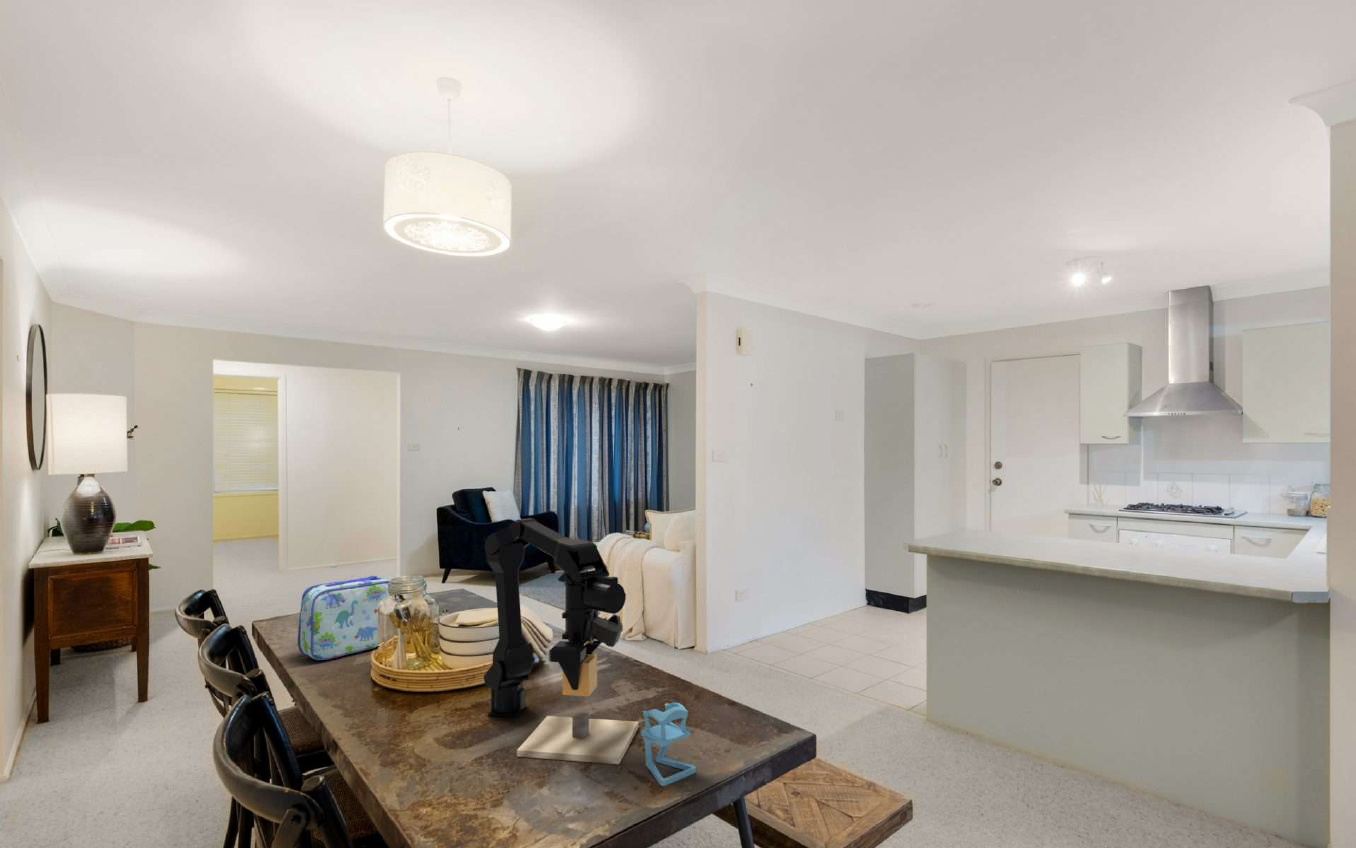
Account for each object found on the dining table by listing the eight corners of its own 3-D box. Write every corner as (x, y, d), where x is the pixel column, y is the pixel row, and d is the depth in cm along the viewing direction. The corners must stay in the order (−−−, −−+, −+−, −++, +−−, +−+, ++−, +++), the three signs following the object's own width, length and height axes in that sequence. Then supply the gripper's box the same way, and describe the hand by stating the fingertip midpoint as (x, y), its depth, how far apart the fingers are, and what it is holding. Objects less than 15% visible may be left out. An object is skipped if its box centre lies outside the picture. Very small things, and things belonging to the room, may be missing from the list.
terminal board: (517, 756, 124) (517, 728, 124) (547, 721, 140) (547, 697, 140) (619, 764, 121) (618, 735, 121) (638, 727, 136) (638, 702, 137)
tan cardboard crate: (562, 694, 128) (562, 662, 128) (571, 685, 134) (571, 653, 134) (588, 696, 127) (588, 663, 128) (596, 686, 133) (596, 654, 133)
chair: (668, 756, 124) (667, 692, 124) (696, 772, 117) (695, 704, 118) (635, 769, 119) (634, 702, 119) (663, 787, 112) (662, 716, 113)
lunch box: (385, 637, 203) (385, 569, 204) (402, 643, 197) (403, 573, 197) (294, 659, 183) (295, 583, 184) (310, 666, 176) (311, 588, 177)
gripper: (605, 619, 120) (605, 705, 120) (629, 596, 139) (630, 670, 138) (548, 617, 122) (548, 701, 122) (579, 594, 141) (579, 668, 140)
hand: (579, 684), depth 130 cm, fingers closed on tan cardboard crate, 5 cm apart
